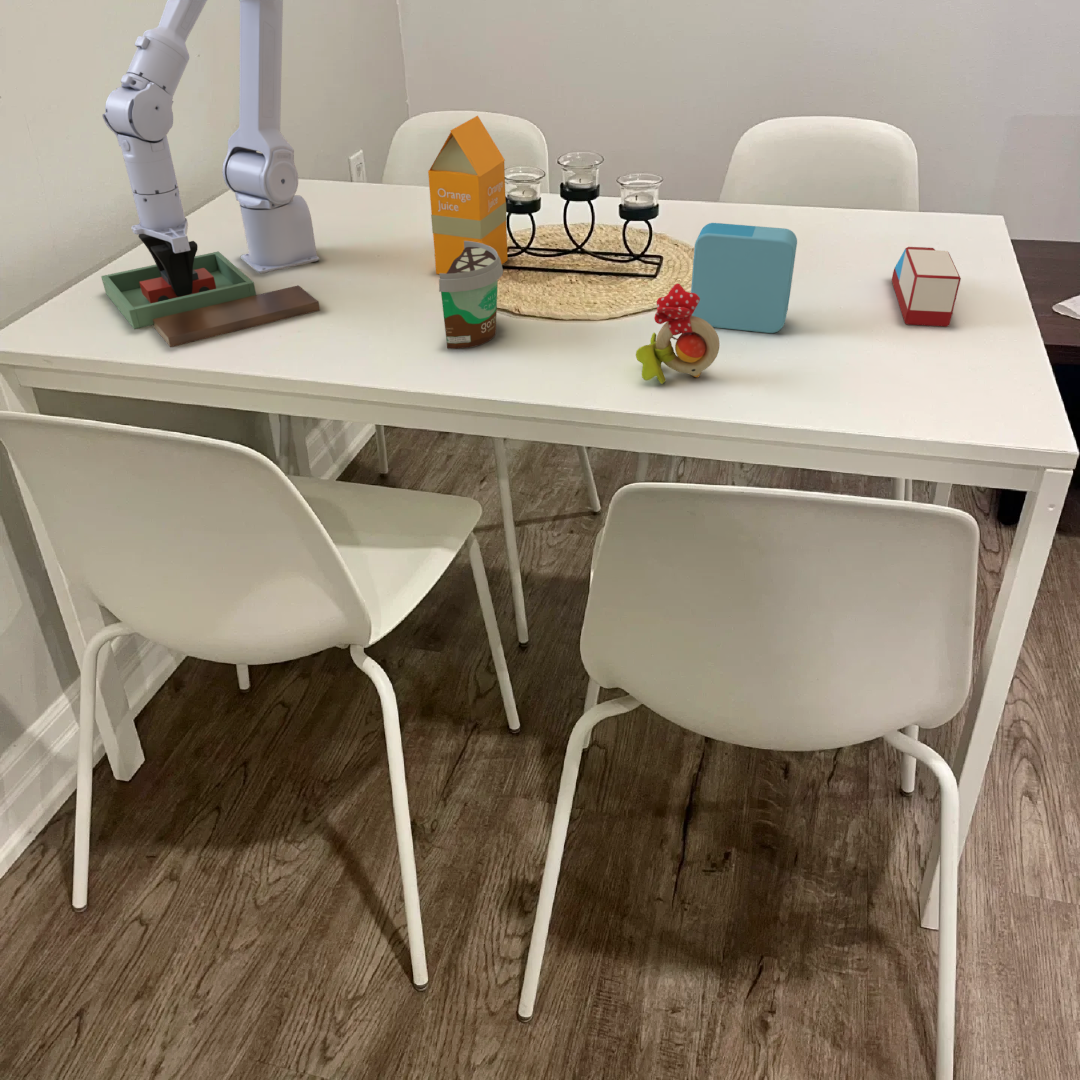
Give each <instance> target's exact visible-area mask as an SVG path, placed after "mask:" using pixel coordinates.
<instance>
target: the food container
mask: <svg viewBox="0 0 1080 1080" xmlns="http://www.w3.org/2000/svg"><path fill="white" fill-rule="evenodd" d="M503 274H504V268H503V264H501V260H500V257H499V256H498V254H497V251H496V250H495V249H493V248H492V247H490V246H488V245H485V244H482V243H478V242H472V241H464V250H463V252H462V253H461V255H460V256H459V257H457V258H456V259H455V260H454V261H453V263H452V265H451V267H450V269H449V270H448V272H447V273H446V274H445V273H439V274H438V275H439V276H438V277H439V279H438V292H440V294H441V296H440V297H441V305H442V315H443V322H444V323H443V324H444V332H445V340H446V349H453V350H455V349H456V350H457V349H470V348H473V347H478V346H482V345H484V344H486V343H489V342H490V341H491V340H493V339H494V338H495V337H496V334H497V313H498V312H497V311H498V309H497V308H498V284H499V283H498V280H500V279H501V278H502V276H503Z"/></svg>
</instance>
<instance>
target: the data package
mask: <svg viewBox="0 0 1080 1080" xmlns="http://www.w3.org/2000/svg"><path fill="white" fill-rule="evenodd" d="M797 246H798V238H797V236H796V234H795V233H794V231H792V230H791V229H789V228H785V227H771V226H760V225H757V226H756V225H746V224H732V223H721V222H709V223H707V224H705V225H704V226H703V227H702V228H701V230H700V232H699V234H698V236H697V237H696V240H695V242H694V250H693V261H692V276H691V287H690V293H695V294H697V295H698V297H699V298H700V301H699V303H698V305H697V307H696V309H695V310H694V312H693V314H692V316H695V317H699V318H701V319H703V320H705V321H706V322H708V323H709V324H710V325H711V326H712V327H713V328H717V329H726V330H737V331H747V332H754V333H756V332H757V333H765V334H775V333H778V332H779V331H781V330H782V329H783V328H784V326H785V323H786V319H787V315H788V310H789V304H790V297H791V289H792V282H793V275H794V268H795V261H796V254H797V253H796V252H797Z"/></svg>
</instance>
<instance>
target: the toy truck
mask: <svg viewBox="0 0 1080 1080" xmlns="http://www.w3.org/2000/svg"><path fill="white" fill-rule="evenodd" d="M895 264H896V265H895V266H894V268H893V271H892V276H891V283H892V286H893V290H894V293H895V295H896V299H897V302H898V306H899V309H900V313H901V316H902V318H903V321H904V323H905V325H906V326H924V327H927V326H928V327H940V328H941V327H944V328H947V327H949V326H950V325H951V320H952V316H953V315H954V309H955V304H956V300H957V296H958V292H959V288H960V284H961V279H962V278H961V276H960V274H959V272H958V269H957V267H956V265H955V262H954V261H953V258H952V256H951V253H950V252H949V251H948V250H937V249H935V248H934V247H925V246H907V247H905V248H904V250H903V251H902V253H901V256H900V257H899V259H898V261H897V262H896V263H895Z"/></svg>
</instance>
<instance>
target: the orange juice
mask: <svg viewBox="0 0 1080 1080" xmlns="http://www.w3.org/2000/svg"><path fill="white" fill-rule="evenodd" d="M505 161H506V160H505V158H504V156H503V155H502V153H501V151H500V150H499V148H498V147H497V144H496V143H495V142H494V140H493V138H492V136H491V135H490V133H489V132H488V130H487V127H485V125H484V124H483V122H482V120H481V118H480V117H479V115H476V116H474V117H472V118H470V119H468V120H467V121H465V122H463V123H461V124H459V125H458V126H456V127H454V128H452V129H450V130H449V134H448V136H447V138H446V140H445V142H444V143H443V144H442V147H441V149H440V150H439V152H438V154H437V156H436V158H434V161H433V163H432V165H431V166H430V168H429V170H427V174H428V175H427V176H428V187H429V199H430V200H429V201H430V211H431V213H430V215H431V218H430V219H431V227H432V228H431V231H432V237H433V238H432V239H433V251H434V264H435V274H436V275H439V273H445V274H446V273H447V272H448V270H449V269H450V267H451V265H452V263H453V261H454V260H455V259H456V258H457V257H459V256H460V255H461V253H462V252H463V250H464V241H472V242H478V243H482V244H485V245H488V246H490V247H492V248H493V249H495V250H496V251H497V254H498V256H499V257H500V260H501V264H502V265H504V264H505V263H506V262H507V261H508V259H509V257H508V232H507V230H508V229H507V227H508V226H507V220H508V219H507V202H506V201H507V200H506V198H507V197H506V173H505V172H506V171H505Z"/></svg>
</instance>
